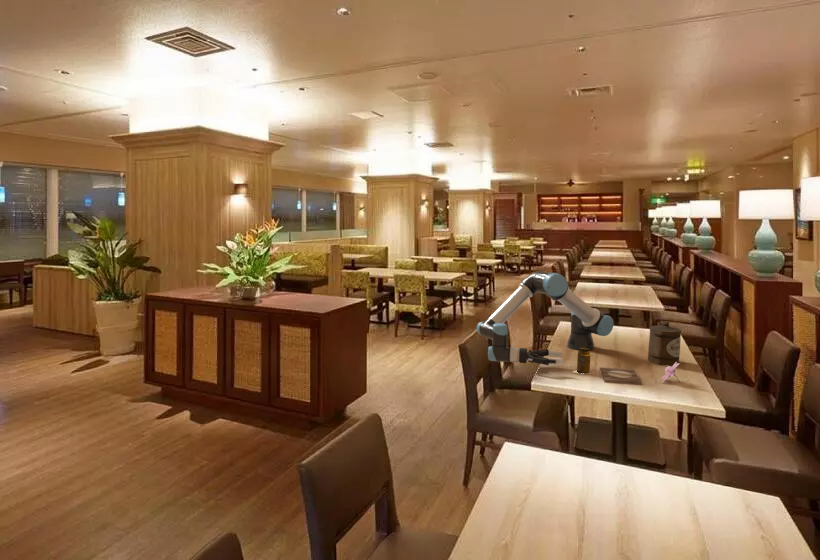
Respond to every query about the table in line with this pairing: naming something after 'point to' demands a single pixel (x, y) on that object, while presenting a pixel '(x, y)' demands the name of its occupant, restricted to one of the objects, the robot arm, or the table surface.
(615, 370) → the board
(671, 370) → the lily
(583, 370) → the condiment
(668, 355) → the wooden container
